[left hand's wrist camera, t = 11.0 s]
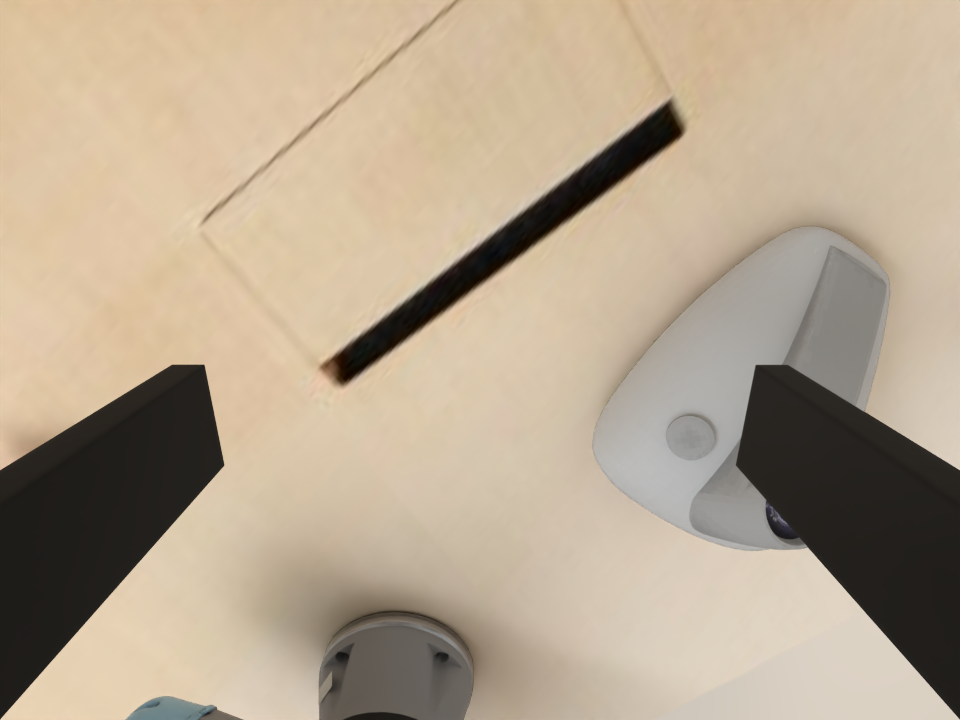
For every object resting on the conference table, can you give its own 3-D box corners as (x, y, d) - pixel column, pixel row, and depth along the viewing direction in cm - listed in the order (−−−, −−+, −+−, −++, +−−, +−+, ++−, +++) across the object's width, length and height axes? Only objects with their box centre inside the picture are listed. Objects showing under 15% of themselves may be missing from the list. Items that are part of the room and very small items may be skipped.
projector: (872, 461, 43) (1053, 593, 30) (610, 527, 46) (666, 678, 32) (857, 203, 36) (1088, 220, 22) (547, 297, 39) (585, 365, 25)
